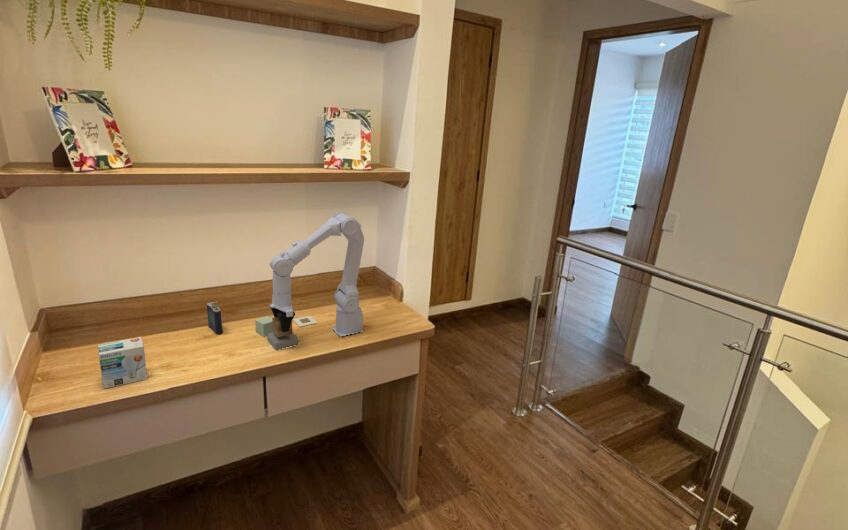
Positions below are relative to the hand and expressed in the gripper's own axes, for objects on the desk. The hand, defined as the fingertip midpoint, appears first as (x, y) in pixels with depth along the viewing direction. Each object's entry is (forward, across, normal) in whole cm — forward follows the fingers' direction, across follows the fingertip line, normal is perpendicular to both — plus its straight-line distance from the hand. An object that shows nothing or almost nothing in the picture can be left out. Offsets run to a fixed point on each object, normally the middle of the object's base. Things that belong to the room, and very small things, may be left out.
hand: (282, 327), depth 154 cm
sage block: (+6, -10, -2) cm, 12 cm away
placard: (+6, -12, +13) cm, 19 cm away
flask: (+6, -20, -17) cm, 27 cm away
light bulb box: (+6, 0, -46) cm, 46 cm away
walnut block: (+2, 0, 0) cm, 2 cm away
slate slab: (+6, 0, 0) cm, 6 cm away
